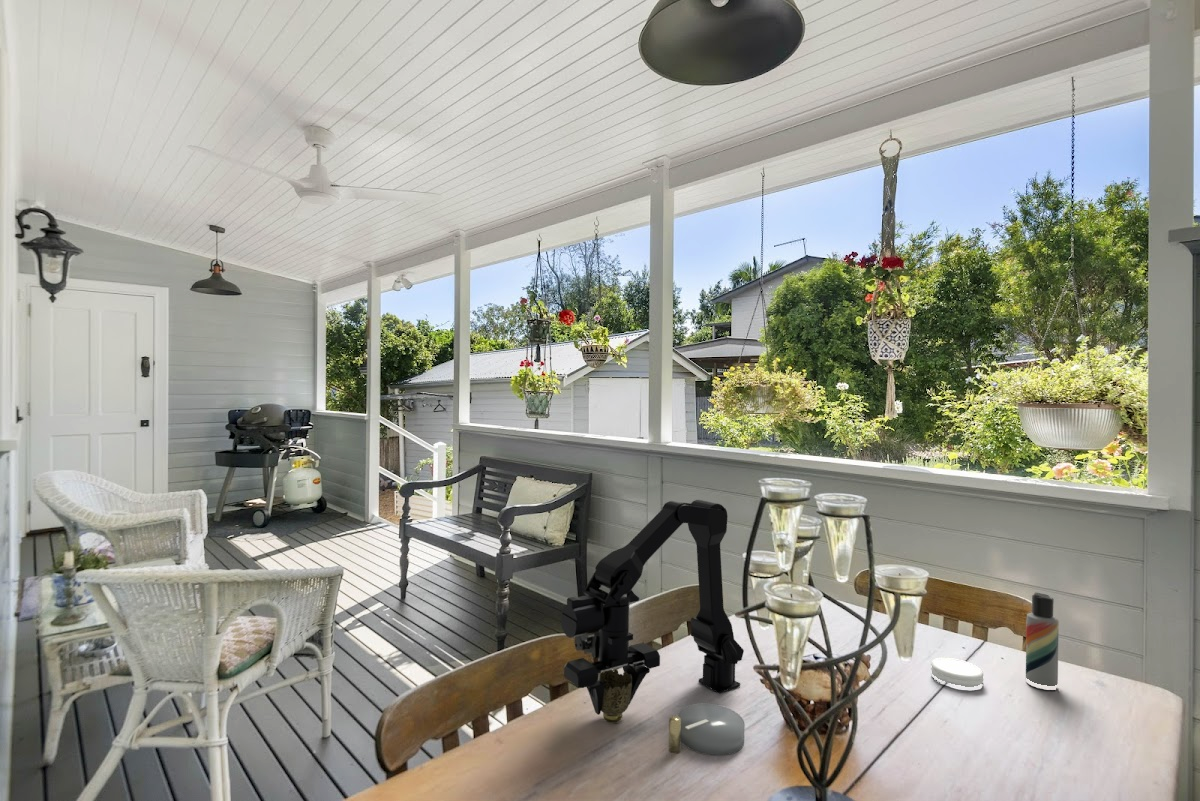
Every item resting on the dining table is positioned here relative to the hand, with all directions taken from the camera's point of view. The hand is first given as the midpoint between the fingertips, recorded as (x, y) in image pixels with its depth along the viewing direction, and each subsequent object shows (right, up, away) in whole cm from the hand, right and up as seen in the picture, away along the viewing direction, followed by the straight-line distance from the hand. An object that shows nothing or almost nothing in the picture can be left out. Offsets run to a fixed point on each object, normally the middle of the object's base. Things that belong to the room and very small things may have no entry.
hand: (612, 708), depth 114 cm
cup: (0, -2, 0) cm, 2 cm away
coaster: (+77, -4, +19) cm, 79 cm away
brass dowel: (+11, -2, -10) cm, 15 cm away
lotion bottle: (+95, -4, +18) cm, 96 cm away
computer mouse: (+18, -2, -5) cm, 18 cm away
